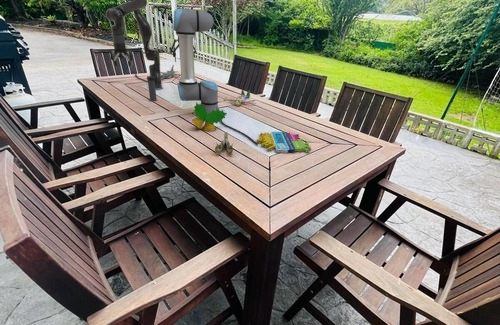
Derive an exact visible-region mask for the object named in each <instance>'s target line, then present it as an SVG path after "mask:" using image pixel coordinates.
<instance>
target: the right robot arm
mask: <svg viewBox="0 0 500 325" xmlns="http://www.w3.org/2000/svg"><path fill="white" fill-rule="evenodd" d="M172 20H173V22H172V23H173V24H172V30H173V31H174V32H175V35H176V37H177V39H176V38H174V39H173V43H172V46H171V48H170V53H172V57H173V58H174V62H177V57H176V56H177V54H176V52H177V50H179V63H180V74H181V75H180V79H178V82H176V86H177V90H178V91H177V92H178V95H179V99H180V100H181V101H183V102H184V101H185V102H192V101H193V102H194V101H195V102H196V101H198V102H199V101H200V104H201V106H204V109H206V112H208V113H211V112H212V110H214V111H216V110H217V109H219V111H221V110H220V108H219V102H218V99H219V98H218V97H219V94H218V93H219V88H218V84H217V83H216V82H215V81H213V80H207V79H206V80H205V79H202V80H200V81H199V82H198V80H197V79H196V77H195V76H196V75H195V54H196V53H197V50H196V48H195V46H194V38H195V37H196V33H203V32H207V31H210V30H211V29H212V28H213V26H214V22H215V20H214V17H213V15H212V14H210V13H209V12H207V11H205V10H201V9H188V8H175V9H174V10H173V19H172ZM176 43H178V44H177V45H176ZM208 113H207V115H208ZM219 122H220V123H221V124H222V125H223V126H225V127H227V128H229V129H231V130H232V131H233V130H234V131H235V132H238V133H240V134H241V135H243V136H245V137H246V138H248V139H249V140H250V141H252V142H253V143H254V144H255V145H256V146H258V144H259V143H257V142H256V140H254V139H253V138H252V137H250V136H249V135H248V134H246V133H244V132H242V131H240V130H239V129H236V128H234V127H232V126H230V125H228V124H225V123H224V122H223V121H222V122H221V121H219Z"/></svg>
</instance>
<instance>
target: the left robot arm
mask: <svg viewBox="0 0 500 325" xmlns="http://www.w3.org/2000/svg"><path fill="white" fill-rule="evenodd" d="M147 5H148V0H129V1H126V2H122V3H120V4H119V5H117V6H113V7H109V8H108V9H107V10H106V11H105V17H106V18H107V19H108V20H109V21H110V22H115V23H114V24H112V25H111V35H112V43H113V44H112V45H113V48H114V49H113V50H110V51H109V54H110V60H111V61H113V62H114V63H113V64H114V66H115V67H118V61H117V59H118V58H120V59H121V58H123V59H124V58H125V59H126V60H127V65H128V67H131V65H132V63H131V61H133V60H134V59H133V53H132V51H131V50H130V51H127V47H126V40H125V36H124V30H123V28H124V17H127V16H128V15H129V14H131V13H133V14H134V17H135V20H136V23H137V28H138V31H139V34H140V38H141V41H142V45H143V51H144V55H145V56H144V57H145V58H146V60H147V61H151V62H153V63H152V64H149V65H148V69H149V70H148V71H149V76H154V77H155V80H154V81H155V90H161V89H163V82H162V80H161V75H162V73H160V72H161V55H160V51H159V50H158V49H153V48H151V47H150V42H151V39H152V36H153V31H152V27H151V24H150V22H149V21H148V20H147V18H146V17H145V15H144V14H143V13H142V11H141V9H145V8H146V7H147ZM127 54H128V55H129V56H128V55H127ZM114 55H115V57H114ZM132 74H135V77H136V78H137V79H139V80H141V81H144V82H146V83H148V80H147V79H143V78H142V77H141V78H140V77H138V76H137V72H136V71H132Z"/></svg>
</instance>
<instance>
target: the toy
mask: <svg viewBox="0 0 500 325" xmlns="http://www.w3.org/2000/svg"><path fill="white" fill-rule="evenodd" d="M240 92H241V93H240V95H238V96H237V97H235V99H233V98H230V99H228V98H227V97H226V96H225V97H224V98H223V101H224V102H233V103H232V104H233V105H235V106H242V103H243V104H247V105H252V106H255V105H256V104H257V103H256V102H254V101H253V100H252V101H251V102H250V101H248V100H246V99H248V98H250V97H251V90H250V89H249V90H248V91H247V92H246V93H245V91H244V89H242V90H241V91H240Z"/></svg>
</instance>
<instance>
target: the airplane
mask: <svg viewBox="0 0 500 325" xmlns="http://www.w3.org/2000/svg"><path fill="white" fill-rule="evenodd" d="M174 66H175V65H174V64H172V66H171V68H170V70H166V72H163V71H162V72H161V71H160V73H161V81H163V80H165V79H171V78H173V77H174V78H176V77H177V76H181V73H177V71H175V70H174Z"/></svg>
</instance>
